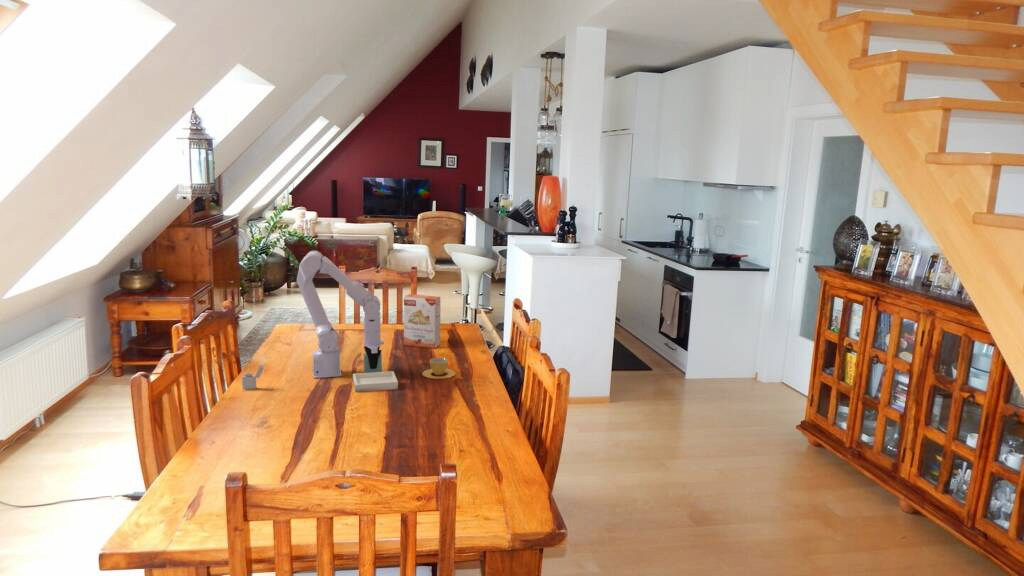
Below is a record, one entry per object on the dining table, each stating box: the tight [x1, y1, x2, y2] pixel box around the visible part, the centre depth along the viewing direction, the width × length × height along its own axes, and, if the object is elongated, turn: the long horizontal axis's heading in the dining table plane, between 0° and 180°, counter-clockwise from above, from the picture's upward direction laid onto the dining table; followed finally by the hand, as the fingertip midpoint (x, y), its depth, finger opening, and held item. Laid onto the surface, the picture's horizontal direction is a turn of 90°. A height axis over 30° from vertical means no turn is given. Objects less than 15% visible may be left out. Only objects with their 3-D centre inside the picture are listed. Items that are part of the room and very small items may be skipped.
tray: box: [352, 370, 399, 393], centre depth 238 cm, size 14×12×2 cm
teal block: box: [363, 353, 383, 373], centre depth 250 cm, size 6×3×7 cm, turn 107°
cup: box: [421, 357, 457, 380], centre depth 251 cm, size 12×12×5 cm
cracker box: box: [403, 293, 441, 350], centre depth 285 cm, size 14×6×21 cm, turn 73°
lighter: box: [241, 364, 266, 390], centre depth 231 cm, size 7×2×8 cm, turn 99°
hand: (372, 367), depth 250 cm, fingers closed on teal block, 3 cm apart
